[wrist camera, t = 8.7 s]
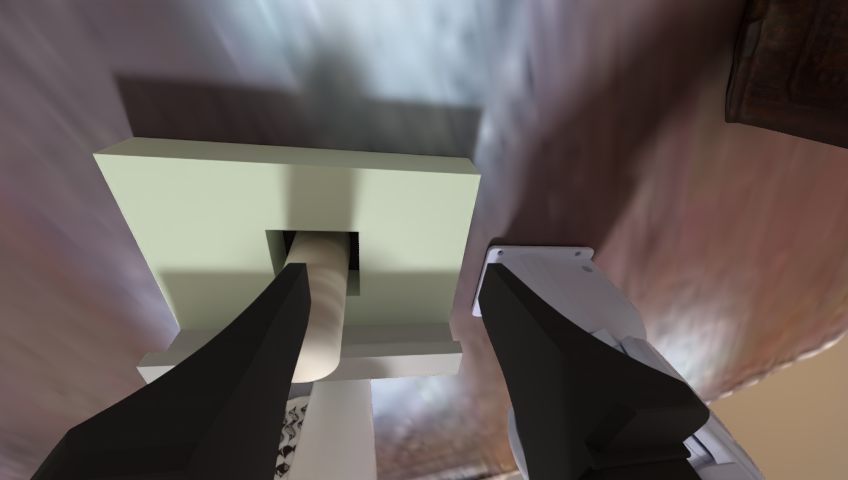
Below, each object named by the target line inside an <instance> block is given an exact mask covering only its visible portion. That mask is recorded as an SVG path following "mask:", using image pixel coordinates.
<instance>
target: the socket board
mask: <svg viewBox="0 0 848 480" xmlns="http://www.w3.org/2000/svg"><path fill="white" fill-rule="evenodd" d="M93 155H94V157H95V159H96V161H97V163H98V165H99V167H100V169H101V171H102V173H103V175H104V177H105V179H106V181H107V183H108V185H109V187H110V189H111V191H112V193H113V195H114V197H115V199H116V201H117V203H118V205H119V207H120V209H121V211H122V213H123V215H124V217H125V219H126V221H127V223H128V225H129V228H130V230H131V232H132V234H133V236H134V238H135V240H136V242H137V244H138V246H139V248H140V250H141V252H142V254H143V256H144V258H145V260H146V262H147V264H148V266H149V268H150V270H151V272H152V274H153V276H154V278H155V280H156V282H157V284H158V286H159V288H160V290H161V292H162V294H163V296H164V298H165V300H166V302H167V304H168V306H169V308H170V310H171V312H172V314H173V316H174V318H175V320H176V322H177V324H178V326H179V328H180V332H179V333H178V335H177V336H176V338H175V339H174V341H173V342H172V344H171V345H170V347H169V348H168V350H167V351H166V352H152V353H146V354H145V356H144V357H143V359H142V360H141V361H140V363H139V364H138V365H137V367H136V368H137V369H138V371H139V372H140V373H141V375H142V376H143V378H144V379H145V381H146V382H147V384H149V383H151V382H152V381H154V380H155V379H157V378H158V377H160V376H161V375H163V374H165V373H166V372H168V371H169V370H171V369H172V368H173V367H175V366H176V365H178V364H179V363H180V362H182V361H183V360H185V359H186V358H187V357H189V356H190V355H192V354H193V353H194V352H196V351H197V350H198V349H200V348H201V347H202V346H204V345H205V344H206V343H208V342H209V341H210V340H211V339H212V338H214V337H215V336H216V335H217V334H219V333H220V332H221V331H222V330H223V329H224V328H226V327H227V326H228V325H229V324H230V323H231V322H232V321H233V320H234V319H236V318H237V317H238V316H239V315H240V314H241V313H242V312H243V311H244V310H245V309H246V308H247V307H248V306H249V305H250V304H251V303H252V302H253V301H254V300H255V299H256V298H257V297H258V296H259V295H260V294H261V293H262V292H263V291H264V290H265V289H266V288H267V286H268V285H269V284H270V283H271V282H272V281H273V280H274V279H275V278H276V276H277V275H278V274H279V273H280V272H281V271H282V269H283V268H284V265H285V262H286V259H287V254H286V248H285V242H284V237H283V231H282V230H305V231H351V232H359V265H360V270H348V279H347V289H346V299H345V310H344V320H343V330H342V340H341V351H340V361H339V364H338V366H337V368H336V369H335V370H334V371H333V372H332V373H330V374H329V375H327V376H326V377H323V378H321V379H318V380H315V381H310V382H324V381H343V380H361V379H379V378H398V377H416V376H435V375H453V374H457V372H458V369H459V365H460V361H461V358H462V354H463V352H462V348H461V344H460V341H453V339H452V334H451V330H450V326H449V319H450V315H451V310H452V306H453V301H454V296H455V292H456V287H457V283H458V278H459V274H460V269H461V264H462V260H463V255H464V251H465V246H466V241H467V237H468V232H469V228H470V223H471V218H472V214H473V209H474V205H475V200H476V196H477V191H478V186H479V182H480V177H481V174H480V173H479V172H478V170H477V169H476V167H475V166H474V165H473V163H472V162H471V161H470V159H469V158H458V157H442V156H426V155H411V154H395V153H379V152H363V151H348V150H332V149H316V148H300V147H285V146H269V145H253V144H237V143H221V142H206V141H190V140H174V139H158V138H143V137H132V138H129V139H127V140H124V141H122V142H120V143H117V144H115V145H113V146H110V147H108V148H105V149H103V150H101V151H98V152H96V153H93ZM302 383H306V382H302Z"/></svg>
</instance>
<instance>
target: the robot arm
mask: <svg viewBox="0 0 848 480" xmlns="http://www.w3.org/2000/svg"><path fill="white" fill-rule="evenodd" d="M501 250H502V251H501ZM499 251H501V252H500V253H498V252H499ZM577 252H578V253H577ZM593 254H594V250H593V249H592V248H590V247H552V246H491V247H490V248H489V249H488V252H487V255H486V259H485V263H484V266H483V270H482V274H481V277H480V281H479V285H478V289H477V292H476V296H475V300H474V303H473V307H472V314H473V315H474V316H482V319H483V322H484V325H485V328H486V330H487V333H488V335H489V338H490V341H491V343H492V346H493V348H494V351H495V353H496V356H497V358H498V361H499V364H500V366H501V369H502V372H503V375H504V377H505V381H506V384H507V388H508V391H509V395H510V398H511V402H512V407H511V408H510V409H509V412H508V437H509V442H510V446H511V450H512V453H513V456H514V458H515V461H516V463H517V466H518V468H519V470H520V472H521V474H522V476H523V477H524V479H525V480H765V477H764V476H763V474H762V472H761V471H760V470H759V468H758V467H757V465H756V464H755V463H754V462H753V460H752V459H751V458H750V456H749V455H748V454H747V453H746V452H745V450H744V449H743V448H742V447H741V446H740V445H739V444H738V442H736V440H735V439H734V438H733V436H732V435H731V433H730V432H729V431H728V429H727V428H726V427H725V426H724V424H723V423H722V422H721V421H720V420H719V418H718V417H717V416H716V415H715V414H714V412H713V411H712V410H711V409H710V408H709V407H708V405H707V404H706V403H705V402H704V401H703V400H702V399H701V397H700V396H699V395H698V394H697V393H696V392H695V391H694V390H693V388H692V387H691V386H690V385H689V384H688V383H687V382H686V381H685V380H684V379H683V377H682V376H681V375H680V374H679V373H678V372H677V371H676V370H675V369H674V368H673V367H672V366H671V365H670V363H669V362H668V361H667V360H666V359H665V358H664V357H663V356H662V355H661V354H660V353H659V352H658V351H657V350H656V349H655V348H654V347H653V346H652V345H651V344H650V343H649V342H648V341H647V336H646V330H645V327H644V324H643V321H642V318H641V316H640V314H639V313H638V311H637V309H636V308H635V307H634V305H633V304H632V303H631V302H630V301H629V300H628V299H627V298H626V297H625V296H624V295H623V293H622V292H621V291H620V290H619V289H618V288H617V287H616V286H615V285H614V284H613V283H612V282H611V281H610V280H609V279H608V278H607V276H606V275H605V274H604V273H603V272H602V271H601V270H600V269H599V268H598V267H597V266H596V265H595V264H594V263H593V262H592V261H591V258H592V256H593ZM310 309H311V294H310V287H309V280H308V273H307V266H306V263H288V264H287V265H286V266H285V267H284V268H283V269H282V271H281V272H280V273H279V274H278V275H277V276H276V278H275V279H274V280H273V281H272V282H271V283H270V284H269V285H268V286H267V288H266V289H265V290H264V291H263V292H262V293H261V294H260V295H259V296H258V297H257V298H256V299H255V300H254V301H253V302H252V303H251V304H250V305H249V306H248V307H247V308H246V309H245V310H244V311H243V312H242V313H241V314H240V315H239V316H238V317H237V318H236V319H234V320H233V321H232V322H231V323H230V324H229V325H228V326H227V327H226V328H224V329H223V330H222V331H221V332H220V333H219V334H217V335H216V336H215V337H214V338H212V339H211V340H210V341H209V342H208V343H206V344H205V345H204V346H202V347H201V348H200V349H198V350H197V351H196V352H194V353H193V354H192V355H190V356H189V357H187V358H186V359H185V360H183V361H182V362H180V363H179V364H178V365H176V366H175V367H173V368H172V369H171V370H169V371H168V372H166V373H165V374H163V375H161V376H160V377H158V378H157V379H155V380H154V381H152V382H151V383H149V384H147V385H146V386H144V387H143V388H141V389H139V390H138V391H136V392H135V393H133V394H131V395H130V396H128V397H126V398H125V399H123V400H121V401H120V402H118V403H116V404H114V405H113V406H111V407H109V408H107V409H105V410H104V411H102V412H100V413H98V414H97V415H95V416H93V417H91V418H90V419H88V420H86V421H84V422H82V423H81V424H79V425H77V426H75V427H73V428H71V429H70V430H69V431H68V432H67V433H66V434H65V435H64V437H63V438H62V439H61V440H60V442H59V443H58V444H57V445H56V446H55V448H54V449H53V450H52V451H51V453H50V454H49V455H48V457H47V458H46V459H45V461H44V462H43V463H42V465H41V466H40V467H39V469H38V470H37V471H36V472H35V474H34V475H33V476H32V478H31V479H30V480H274V476H275V469H276V463H277V456H278V450H279V444H280V439H281V433H282V427H283V421H284V416H285V410H286V405H287V400H288V394H289V390H290V386H291V382H292V379H293V375H294V372H295V368H296V365H297V361H298V358H299V355H300V351H301V348H302V344H303V341H304V337H305V334H306V330H307V327H308V321H309V315H310Z"/></svg>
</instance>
